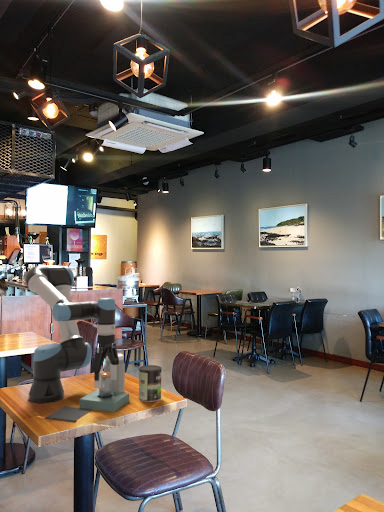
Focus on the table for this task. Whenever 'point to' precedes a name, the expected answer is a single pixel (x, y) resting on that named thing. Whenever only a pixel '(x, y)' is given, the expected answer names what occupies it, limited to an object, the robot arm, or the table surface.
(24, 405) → the table surface
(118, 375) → the jar
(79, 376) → the table surface
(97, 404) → the block
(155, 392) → the coffee can
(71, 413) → the mat
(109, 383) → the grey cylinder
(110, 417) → the table surface
